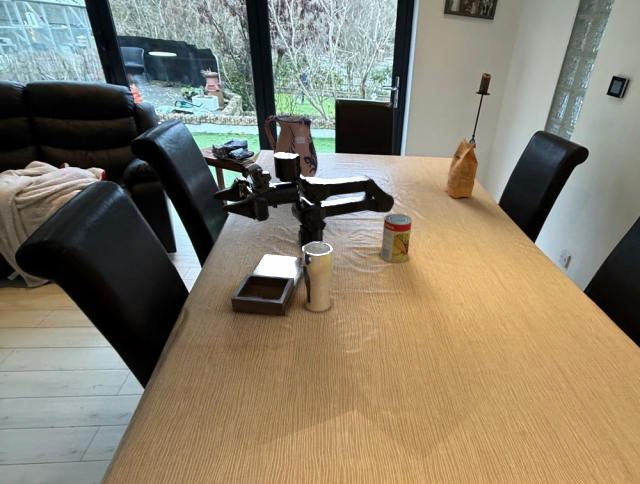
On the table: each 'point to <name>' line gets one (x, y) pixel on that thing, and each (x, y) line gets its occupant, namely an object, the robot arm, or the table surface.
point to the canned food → (396, 237)
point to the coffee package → (462, 171)
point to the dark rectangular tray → (269, 286)
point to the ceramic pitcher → (295, 141)
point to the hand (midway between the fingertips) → (217, 202)
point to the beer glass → (317, 274)
